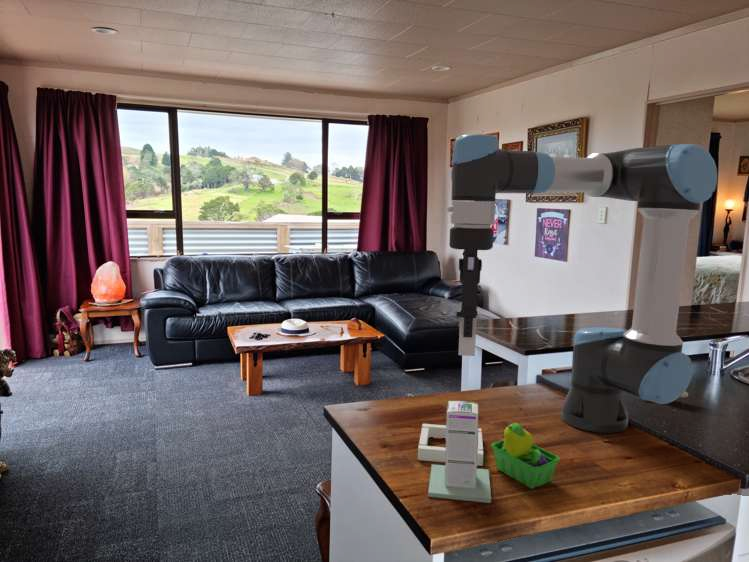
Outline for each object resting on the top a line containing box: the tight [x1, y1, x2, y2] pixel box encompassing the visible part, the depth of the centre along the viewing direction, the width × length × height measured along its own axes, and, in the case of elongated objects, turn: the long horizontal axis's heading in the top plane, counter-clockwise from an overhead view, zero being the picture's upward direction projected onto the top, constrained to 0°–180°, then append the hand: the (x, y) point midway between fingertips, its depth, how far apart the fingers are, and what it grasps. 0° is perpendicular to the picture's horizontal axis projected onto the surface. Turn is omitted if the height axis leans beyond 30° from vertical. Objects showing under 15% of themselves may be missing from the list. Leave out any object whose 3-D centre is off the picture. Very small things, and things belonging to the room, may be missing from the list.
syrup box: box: [444, 400, 479, 489], centre depth 103 cm, size 6×6×14 cm
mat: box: [427, 463, 492, 504], centre depth 104 cm, size 11×11×1 cm
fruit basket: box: [491, 422, 561, 489], centre depth 108 cm, size 11×9×11 cm
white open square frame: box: [417, 423, 484, 467], centre depth 119 cm, size 13×13×2 cm
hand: (466, 345), depth 101 cm, fingers open, 13 cm apart
